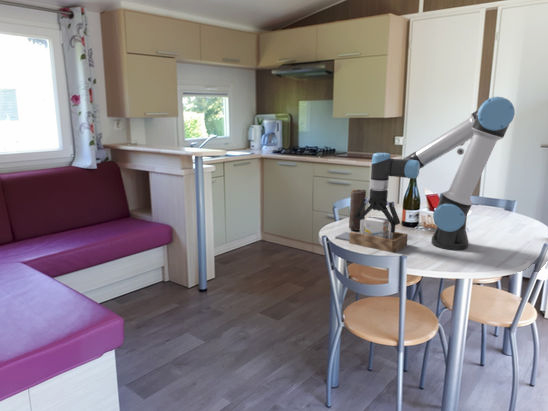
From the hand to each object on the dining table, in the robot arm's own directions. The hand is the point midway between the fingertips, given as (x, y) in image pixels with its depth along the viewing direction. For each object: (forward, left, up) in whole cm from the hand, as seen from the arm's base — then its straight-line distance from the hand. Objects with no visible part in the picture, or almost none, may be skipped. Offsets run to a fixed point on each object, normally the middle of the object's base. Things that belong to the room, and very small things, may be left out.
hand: (375, 236), depth 195 cm
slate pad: (+14, -1, -3) cm, 14 cm away
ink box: (0, 0, -4) cm, 4 cm away
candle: (+17, -14, -4) cm, 22 cm away
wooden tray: (0, 0, -3) cm, 3 cm away
